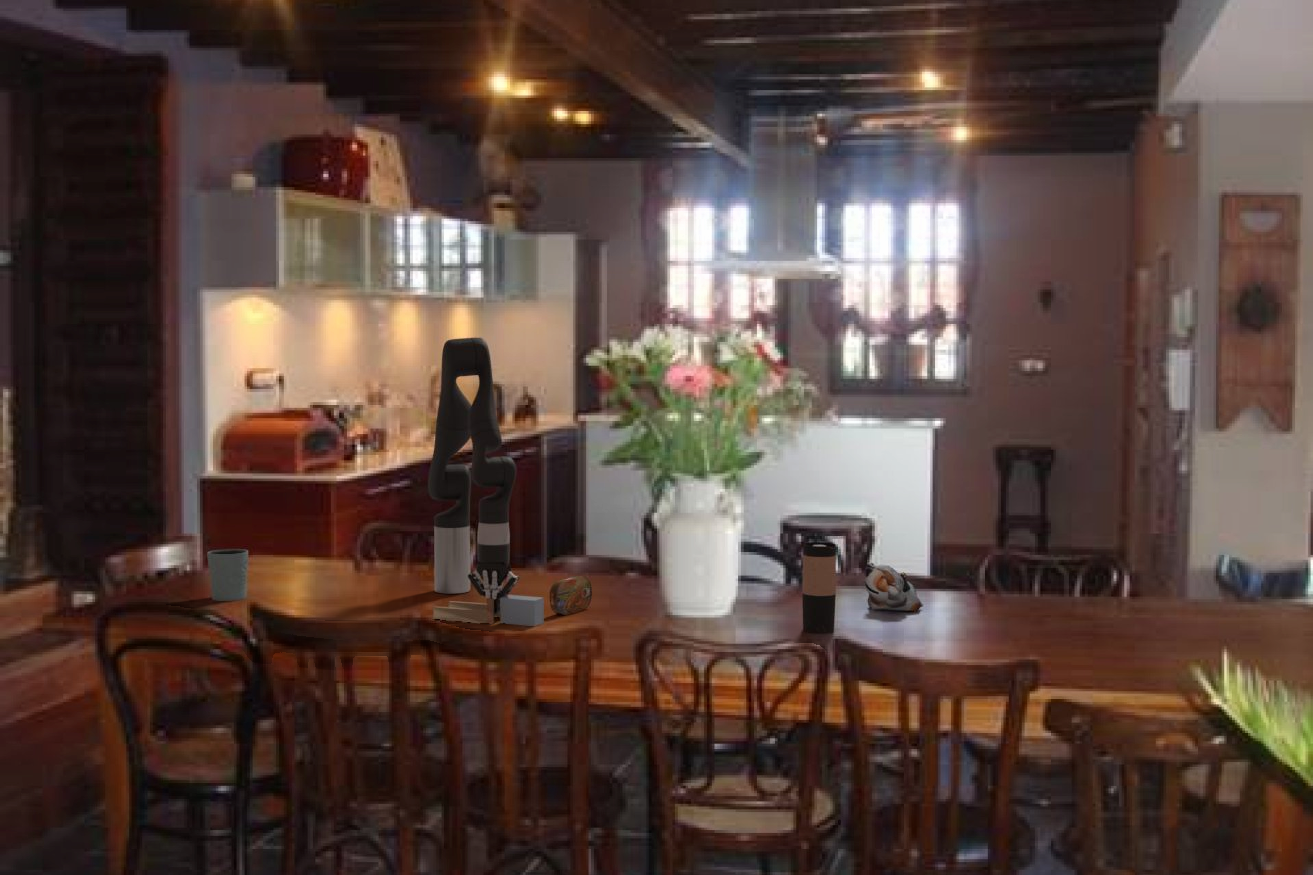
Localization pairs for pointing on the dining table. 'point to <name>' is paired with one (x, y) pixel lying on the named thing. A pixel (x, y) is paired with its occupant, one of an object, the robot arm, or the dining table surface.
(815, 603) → the travel mug
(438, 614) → the chute
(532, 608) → the block
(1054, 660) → the dining table surface
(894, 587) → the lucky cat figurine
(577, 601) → the tin
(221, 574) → the grey tapered cup
